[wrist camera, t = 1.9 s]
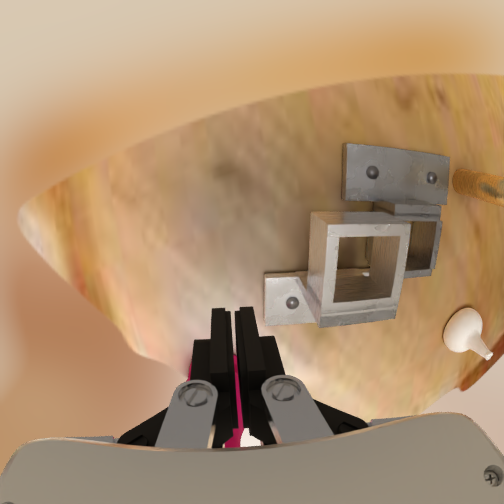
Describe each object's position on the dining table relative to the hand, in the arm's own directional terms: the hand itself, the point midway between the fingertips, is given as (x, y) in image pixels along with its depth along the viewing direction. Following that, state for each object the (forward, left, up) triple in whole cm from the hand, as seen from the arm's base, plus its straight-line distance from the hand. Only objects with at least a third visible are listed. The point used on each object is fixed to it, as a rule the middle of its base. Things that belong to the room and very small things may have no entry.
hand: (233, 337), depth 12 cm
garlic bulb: (-30, +13, -15) cm, 36 cm away
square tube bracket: (-9, +3, -15) cm, 18 cm away
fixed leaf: (-16, -3, -15) cm, 22 cm away
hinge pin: (-25, -6, -15) cm, 30 cm away
